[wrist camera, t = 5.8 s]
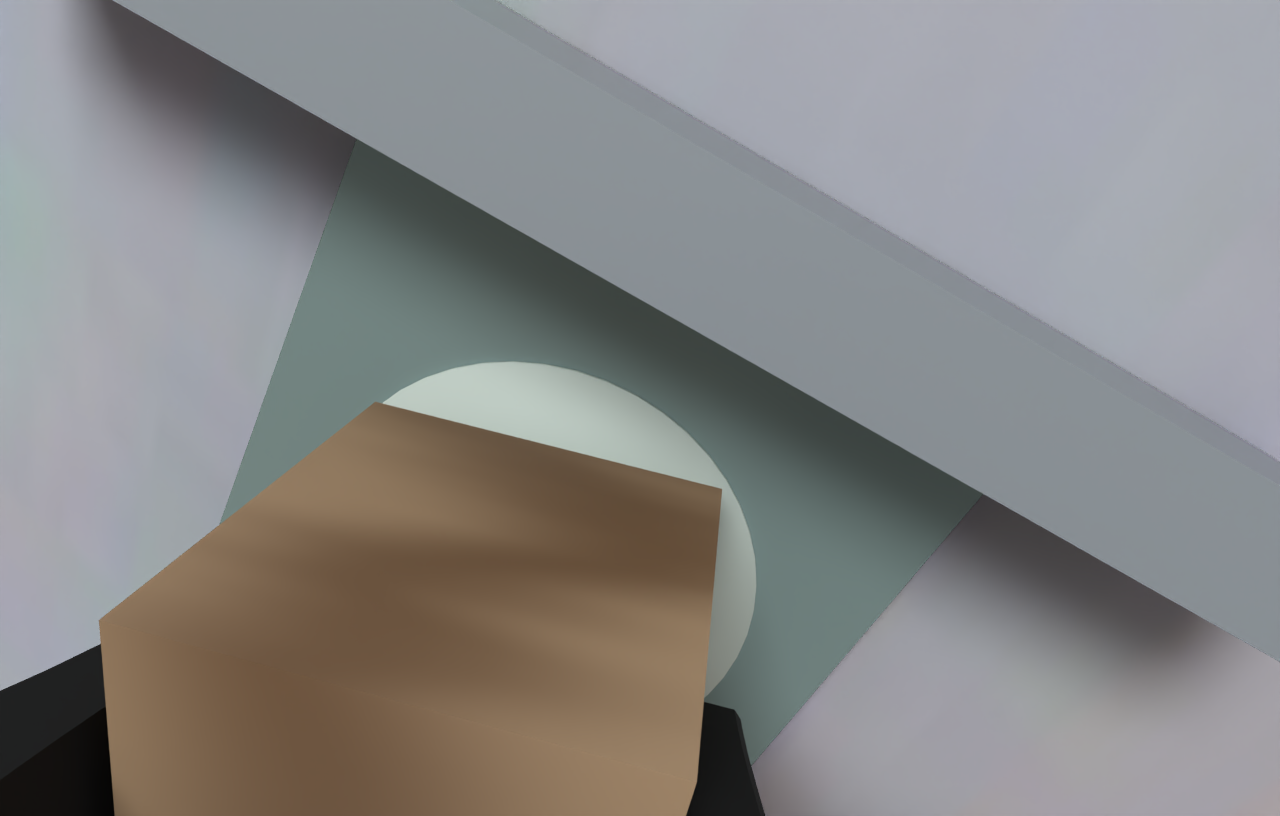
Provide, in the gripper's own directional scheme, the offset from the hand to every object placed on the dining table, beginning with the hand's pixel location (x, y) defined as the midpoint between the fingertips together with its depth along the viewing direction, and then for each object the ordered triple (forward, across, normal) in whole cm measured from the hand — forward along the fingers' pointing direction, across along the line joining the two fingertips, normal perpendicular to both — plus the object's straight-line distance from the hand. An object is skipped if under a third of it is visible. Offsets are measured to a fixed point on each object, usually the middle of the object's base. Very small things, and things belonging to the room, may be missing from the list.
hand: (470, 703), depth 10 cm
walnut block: (+2, 0, 0) cm, 2 cm away
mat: (+3, 0, 0) cm, 3 cm away
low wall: (+3, -1, -6) cm, 7 cm away
